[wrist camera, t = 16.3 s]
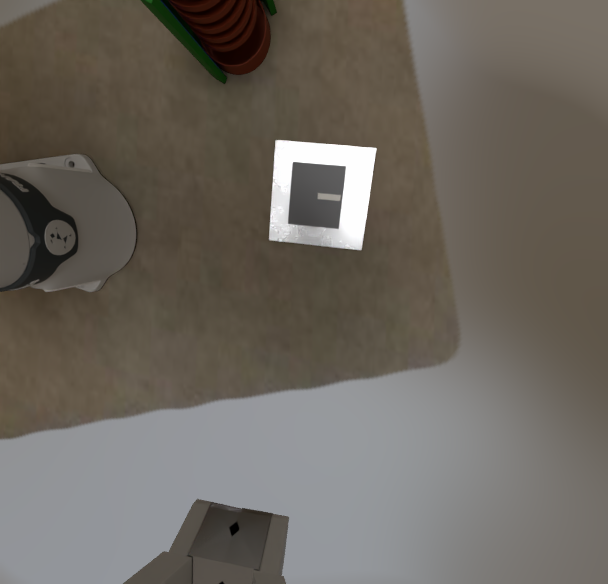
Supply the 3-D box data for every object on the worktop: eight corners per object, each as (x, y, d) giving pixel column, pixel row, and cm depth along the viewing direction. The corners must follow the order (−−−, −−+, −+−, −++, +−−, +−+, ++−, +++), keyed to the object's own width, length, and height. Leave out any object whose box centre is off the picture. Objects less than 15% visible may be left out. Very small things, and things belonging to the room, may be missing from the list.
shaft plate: (270, 239, 42) (262, 242, 38) (277, 141, 39) (269, 133, 34) (361, 249, 41) (363, 254, 37) (375, 149, 38) (379, 142, 33)
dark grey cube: (299, 168, 38) (292, 161, 33) (345, 172, 38) (346, 165, 32) (295, 221, 40) (287, 223, 34) (339, 226, 40) (338, 229, 34)
